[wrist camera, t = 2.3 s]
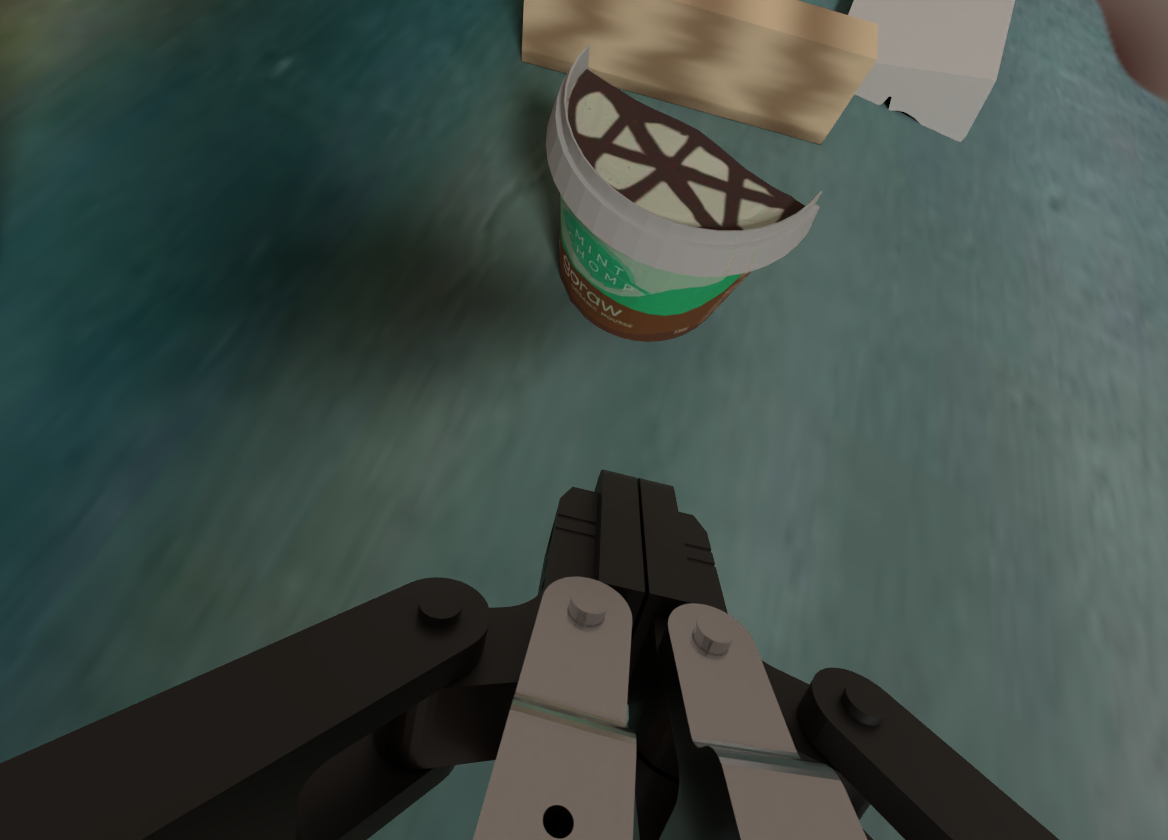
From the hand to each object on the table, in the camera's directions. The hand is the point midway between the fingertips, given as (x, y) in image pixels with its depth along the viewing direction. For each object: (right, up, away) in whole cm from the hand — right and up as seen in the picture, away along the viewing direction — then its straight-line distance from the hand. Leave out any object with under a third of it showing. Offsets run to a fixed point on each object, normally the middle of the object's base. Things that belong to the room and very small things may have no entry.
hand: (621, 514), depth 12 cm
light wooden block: (+5, +24, +25) cm, 35 cm away
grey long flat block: (+27, +37, +35) cm, 58 cm away
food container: (+1, +8, +19) cm, 21 cm away
